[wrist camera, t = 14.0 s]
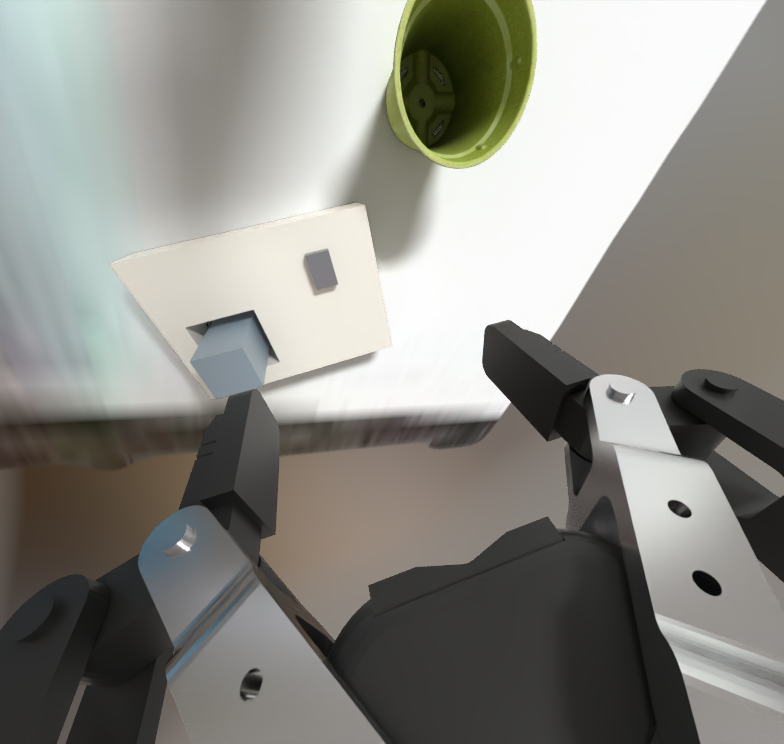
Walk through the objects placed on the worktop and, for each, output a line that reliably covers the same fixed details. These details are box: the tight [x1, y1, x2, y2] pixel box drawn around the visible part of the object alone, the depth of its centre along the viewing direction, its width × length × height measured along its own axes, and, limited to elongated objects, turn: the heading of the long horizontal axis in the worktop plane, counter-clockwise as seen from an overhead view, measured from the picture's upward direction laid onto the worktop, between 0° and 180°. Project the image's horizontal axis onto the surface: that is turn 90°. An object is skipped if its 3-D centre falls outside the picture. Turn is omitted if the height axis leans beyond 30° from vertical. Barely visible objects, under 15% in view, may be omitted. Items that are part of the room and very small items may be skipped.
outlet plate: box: [109, 202, 393, 400], centre depth 28 cm, size 14×20×5 cm
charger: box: [189, 310, 270, 399], centre depth 27 cm, size 4×4×9 cm
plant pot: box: [386, 0, 537, 169], centre depth 20 cm, size 9×9×9 cm
